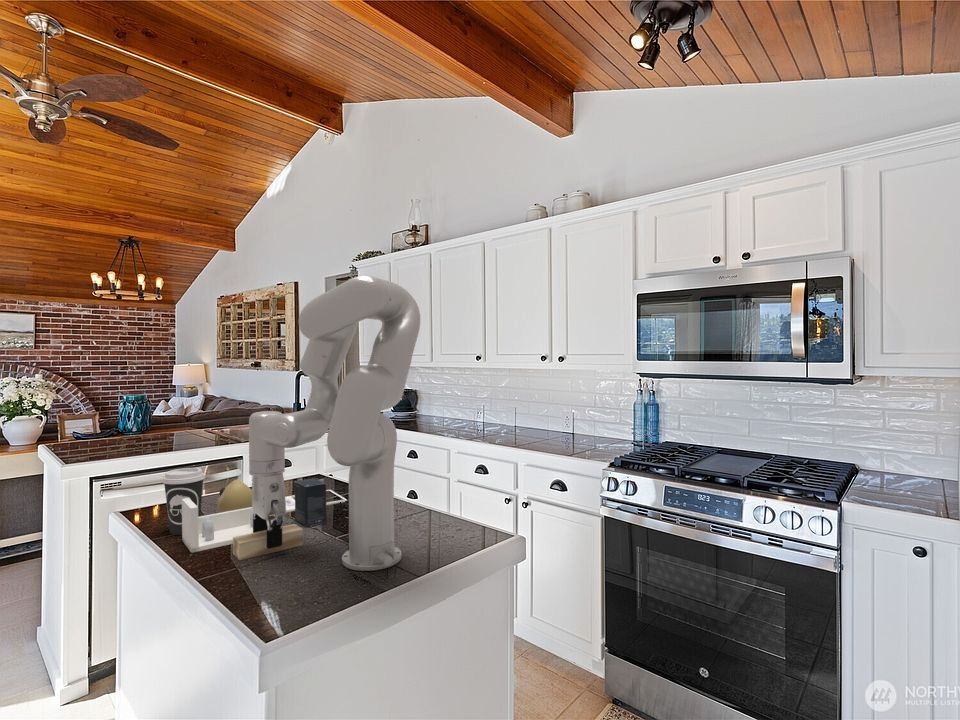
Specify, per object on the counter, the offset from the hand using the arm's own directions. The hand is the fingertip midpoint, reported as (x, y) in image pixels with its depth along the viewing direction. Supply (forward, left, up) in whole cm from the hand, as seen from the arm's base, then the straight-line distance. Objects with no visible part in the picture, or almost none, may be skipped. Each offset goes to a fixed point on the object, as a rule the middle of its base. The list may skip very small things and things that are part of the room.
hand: (267, 540), depth 121 cm
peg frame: (+14, +4, -2) cm, 14 cm away
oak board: (0, 0, -2) cm, 2 cm away
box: (+13, -15, -2) cm, 20 cm away
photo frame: (+32, -22, -3) cm, 39 cm away
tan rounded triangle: (+29, -1, -2) cm, 29 cm away
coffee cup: (+27, +12, -2) cm, 29 cm away
